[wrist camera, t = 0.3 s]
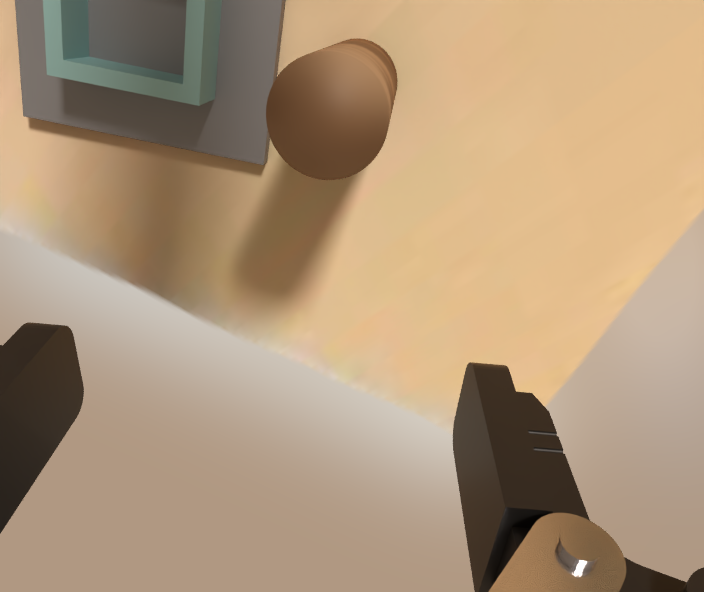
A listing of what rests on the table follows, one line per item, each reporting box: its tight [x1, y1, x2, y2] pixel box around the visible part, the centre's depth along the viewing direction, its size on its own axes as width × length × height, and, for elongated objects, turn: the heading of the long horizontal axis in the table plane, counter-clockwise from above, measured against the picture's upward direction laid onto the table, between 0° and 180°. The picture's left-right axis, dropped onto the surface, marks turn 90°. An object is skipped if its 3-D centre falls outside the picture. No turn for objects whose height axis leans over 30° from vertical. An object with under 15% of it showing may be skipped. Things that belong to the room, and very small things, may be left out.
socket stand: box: [15, 0, 286, 165], centre depth 33 cm, size 16×16×4 cm
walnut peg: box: [266, 39, 397, 180], centre depth 30 cm, size 5×5×14 cm
